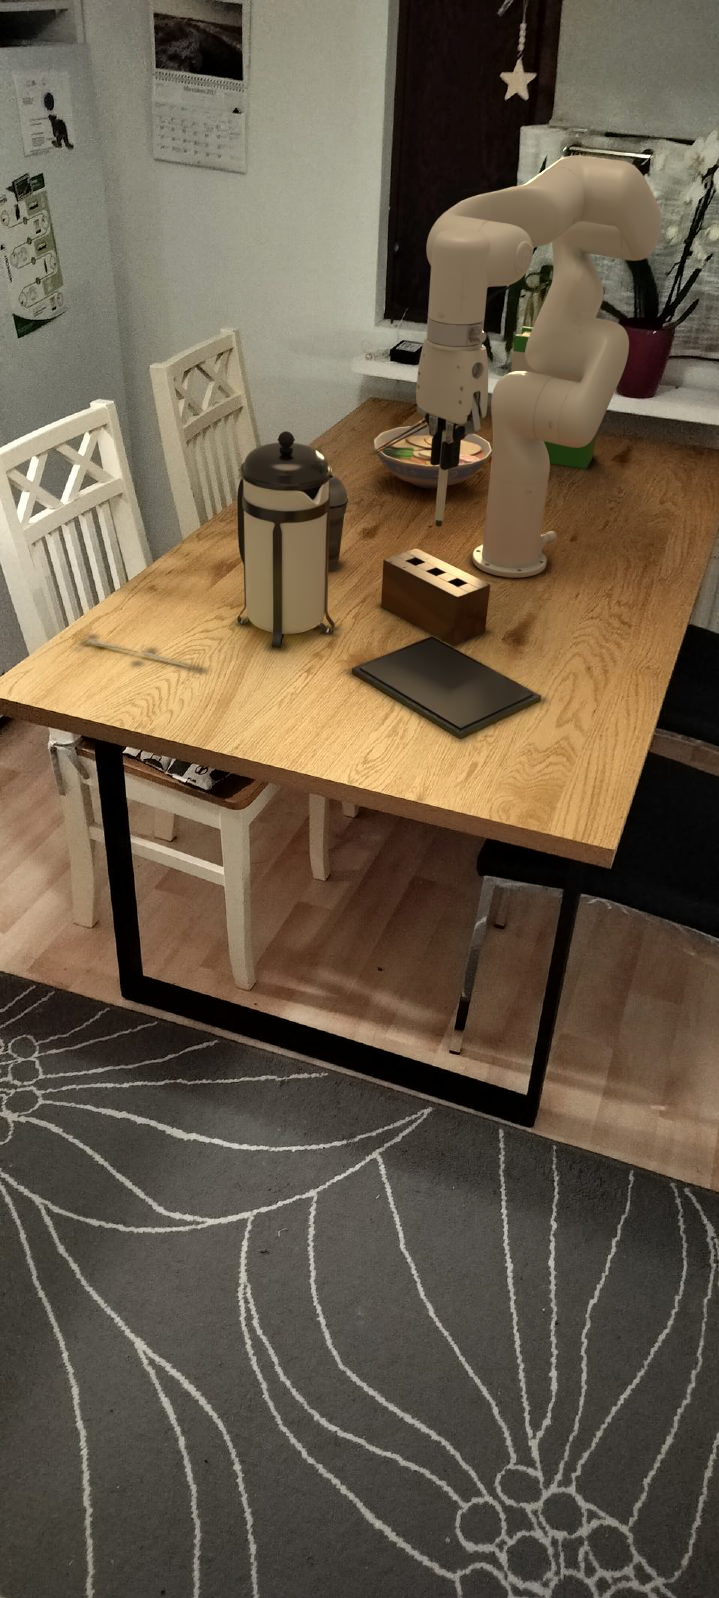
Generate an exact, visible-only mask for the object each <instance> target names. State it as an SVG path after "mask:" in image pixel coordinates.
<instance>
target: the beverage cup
mask: <svg viewBox="0 0 719 1598" xmlns="http://www.w3.org/2000/svg"><path fill="white" fill-rule="evenodd" d="M317 450H318V451H319V452H321V453H322V454H323V452H322V451H323V450H322V447H318V448H317ZM328 491H329V493H330V510H329V516H330V519H329V562H328V572H331V571H335V570H337V568H338V567H339V559H340V554H341V546H342V538H343V531H344V530H343V529H344V521H345V520H344V519H345V515H346V513H347V512H346V511H347V506H348V504H349V498H348V491H347V489H346V486H345V484H344V483H343V482H342V480H341V479H340V478H339V477H338V476H336V475H334V474H332V476H331V478H330V480H329V489H328Z"/></svg>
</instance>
